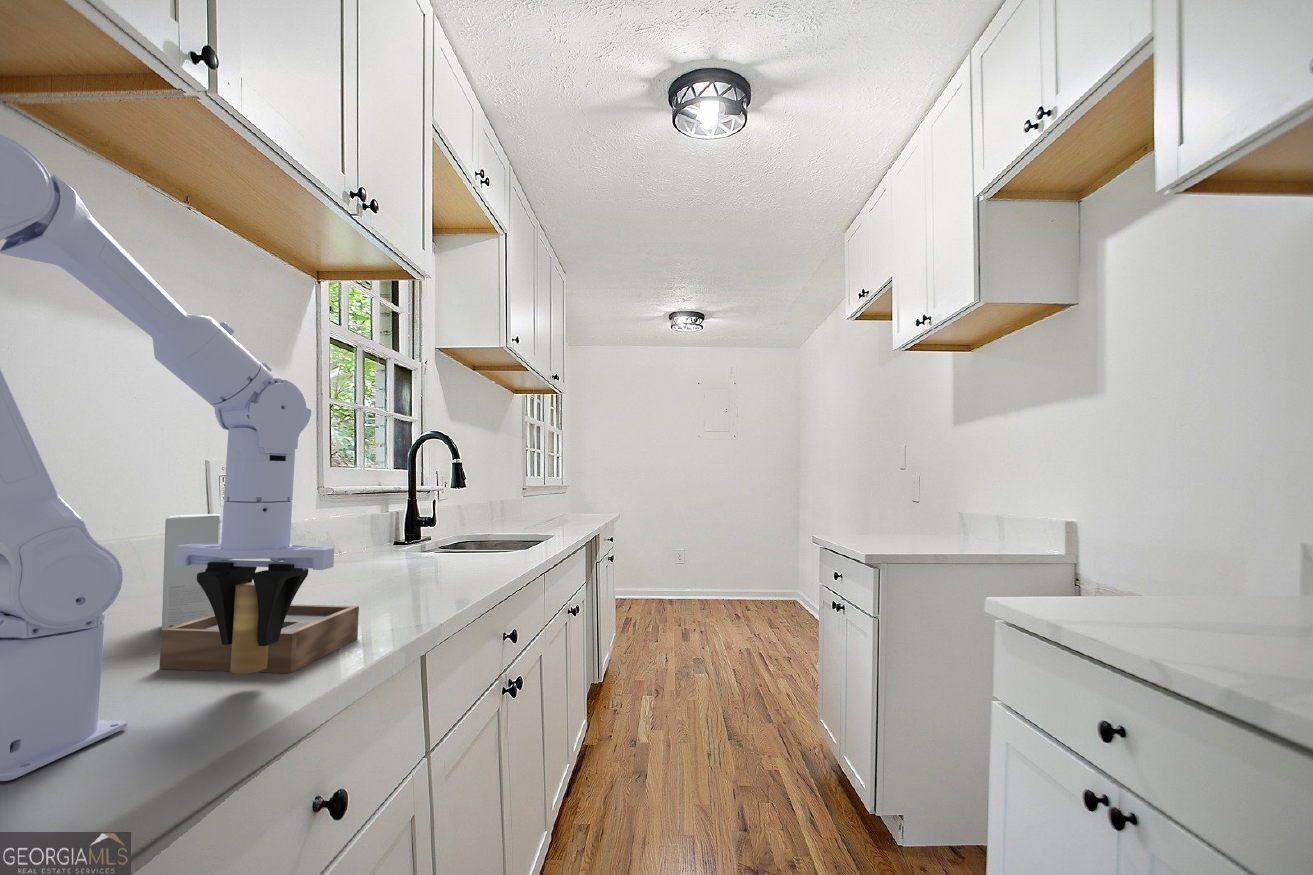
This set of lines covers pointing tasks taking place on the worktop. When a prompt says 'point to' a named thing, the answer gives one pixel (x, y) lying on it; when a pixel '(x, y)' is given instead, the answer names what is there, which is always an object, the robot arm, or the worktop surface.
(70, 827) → the worktop surface
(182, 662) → the tray
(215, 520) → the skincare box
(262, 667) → the peg
